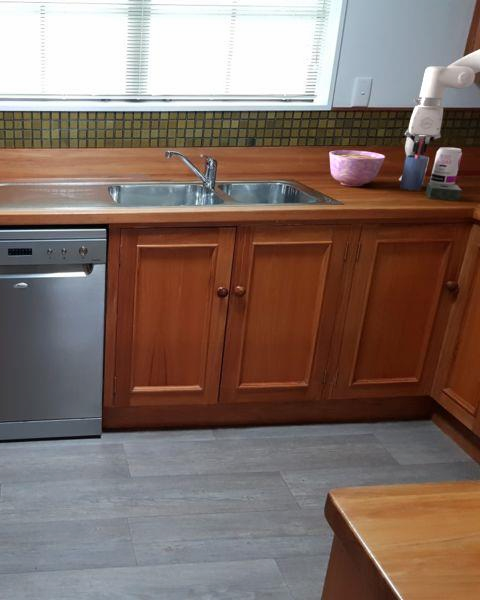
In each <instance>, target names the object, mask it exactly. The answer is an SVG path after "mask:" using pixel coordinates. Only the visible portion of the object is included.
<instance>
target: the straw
mask: <svg viewBox="0 0 480 600" xmlns="http://www.w3.org/2000/svg"><path fill="white" fill-rule="evenodd" d="M424 140H425V138H423V139H419V142H418V144H419V146H418V150H417V154H416V155H415V158H420V156H422V155H421V150H422V146H423V142H424Z"/></svg>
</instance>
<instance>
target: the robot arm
mask: <svg viewBox="0 0 480 600" xmlns="http://www.w3.org/2000/svg"><path fill="white" fill-rule="evenodd" d="M477 73H480V48H479V49H478V50H477V49H476V50H475V51H473V52H471V53H469V54H466V55H465V56H463V57H461V58H459V59H457V60H456V61H454V62H453V63H451V64H449V65H447V66H441V65H440V66H437V65H432V66H428V67H426V69H425V71H424V74H423V79H422V83H421V88H420V91H419V97H418V98H414V100H413V103H414V104H415V103H416V104H417V105H415V106H414V108H413V111H412V114H411V117H410V121H409V123H408V128H407V129H406V131H405V133H404V136H405V137H406V138H407V137H409V138H411V139H412V140H413V142H414V145H413V149H412V152H414V154H417V150H418V146H419V144H418V138H419V135H425V137H424V141H423V146H422V150H421V155H420V156H424V153H426V152H427V147H428V144H429V143H431V142H432V141H434V140H437V139H440V138H441V137H442V135H441V128H442V123H443V115H444V107H443V106H442V104H443V100H444V95H445V91H446V88H448V89H449V88H450V89H454V90H463V89H466V88H467V87H468V88H469V87H470V86H471V85H473V83H474V82H475V78H476V74H477ZM411 134H413V135H414V136H413V135H411Z"/></svg>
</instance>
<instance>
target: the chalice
mask: <svg viewBox="0 0 480 600" xmlns="http://www.w3.org/2000/svg"><path fill="white" fill-rule="evenodd" d="M411 135H413V134H411ZM413 136H414V135H413ZM425 137H426V135H419V138H418V142H419V139H425ZM405 140H406V141H405V145H404V152H405V155H406V156H407V155H416V154H414V152H412V149H413V145H414V142H413V140H412V139H411V138H409V137H407V136H406V139H405ZM401 177H402V175H401V176H400V177H399V178H398V180H399V181H401Z"/></svg>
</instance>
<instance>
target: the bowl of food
mask: <svg viewBox="0 0 480 600" xmlns="http://www.w3.org/2000/svg"><path fill="white" fill-rule="evenodd" d="M385 159H386V156H385V155H384V154H381V153H377V152H371V151H364V150H351V149H350V150H349V149H347V150H346V149H342V150H332V151H330V152H329V167H330V168H329V169H330V174H331V176H332V178H333V179H334V180H336V181H337V182H339V183H340V185H343V186H348V187H363V186H364V185H366V184H369V183H371V182H373V181H374V180H375V179H376V177H377V175H378V174H379V172H380V169H381V167H382V165H383V163H384V161H385Z"/></svg>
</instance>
